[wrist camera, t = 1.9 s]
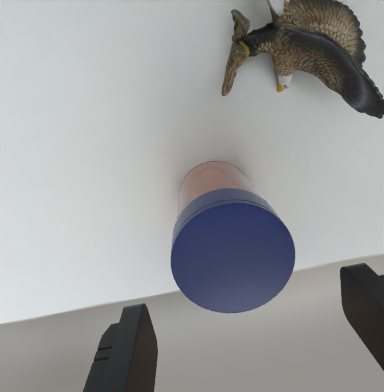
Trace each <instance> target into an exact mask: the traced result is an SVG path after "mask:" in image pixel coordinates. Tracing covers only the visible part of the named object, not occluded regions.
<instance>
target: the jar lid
mask: <svg viewBox="0 0 384 392" xmlns="http://www.w3.org/2000/svg"><path fill="white" fill-rule="evenodd" d="M294 262H295V248H294V242H293V240H292V237H291V234H290V232H289V231H288V229H287V227H286V226H285V225H284V223H283V222H282V221H281V219H280V218H279V217H278V215H277V214H276V213H275V211H274V210H273V209H272V207H271V206H270V205H269V204H268V203H267V202H266V201H265V200H263V199H262V198H261V197H259V196H258V195H256V194H254V193H251V192H249V191H246V190H242V189H236V188H223V189H217V190H213V191H209V192H207V193H205V194H202V195H201V196H199V197H197V198H196V199H194V200H193V201H192V202H190V203H189V204H188V205H187V206H186V207H185V209H184V210H183V211H182V212H181V214H180V216H179V217H178V219H177V221H176V224H175V227H174V231H173V239H172V250H171V269H172V274H173V277H174V280H175V281H176V283H177V285H178V287H179V288H180V290H181V291H182V292H183V293H184V294H185V296H186V297H187V298H189V299H190V300H191V301H192V302H194V303H196V304H197V305H199V306H201V307H203V308H205V309H208V310H211V311H215V312H220V313H239V312H245V311H249V310H252V309H255V308H258V307H259V306H262V305H264V304H265V303H267V302H268V301H270V300H271V299H272V298H274V297H275V296H276V295H277V294H278V293H279V292H280V291H281V290H282V289H283V288H284V286H285V285H286V284H287V282H288V280H289V278H290V276H291V274H292V271H293V267H294Z"/></svg>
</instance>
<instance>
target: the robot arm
mask: <svg viewBox="0 0 384 392" xmlns="http://www.w3.org/2000/svg"><path fill="white" fill-rule="evenodd" d="M340 279H341V296H342V307H343V310H344V313H345V316H346V318H347V320H348V321H349V323H350V324H351V326H352V327H353V329H354V330H355V331H356V333H357V334H358V336H359V337H360V338H361V340H362V341H363V342H364V344H365V345H366V347H367V348H368V350H369V351H370V352H371V354H372V355H373V356H374V358H375V359H376V361H377V362H378V363H379V365H380V366H381V368H382V369H383V370H384V275H380V276H378V275H377V274H376V273H375V272H374V271H373V270H372V269H371V268H370V267H369V266H368V265H366V264H365V263H361V264H356V265H351V266H345V267H342V268H341V269H340ZM157 348H158V347H157V340H156V335H155V332H154V329H153V325H152V322H151V319H150V315H149V312H148V309H147V306H146V305H145V303H143V304H138V305H132V306H127V307H124V309H123V312H122V315H121V318H120V322H119V323H115V324H111V325H110V327H109V328H108V329H107V330H106V332H105V333H104V334H103V335H102V337H101V340H100V343H99V346H98V351H97V352H96V355H95V358H94V362H93V364H92V366H91V370H90V373H89V375H88V378H87V381H86V384H85V387H84V390H83V392H154V385H155V375H156V366H157V356H158V349H157Z"/></svg>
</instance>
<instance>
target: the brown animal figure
mask: <svg viewBox="0 0 384 392" xmlns="http://www.w3.org/2000/svg"><path fill="white" fill-rule="evenodd" d="M266 1H267V3H268V5H269V7H270V11H271V15H272V22H271V23H268V24H267V25H266V26H265V27H263V28H260V29H257V30H253V31H252V32H251V33H247V31H248V29H249V26H250V21H249V20H248V19H246V18H245V17H244V16H243V15H242V14H241V13H240V12H239V11H238V10H235V9H234V10H232V11H231V13H232V17H233V21H234V22H235V25H234V31H235V33H234V35H233V37H232V41H233V44H232V47H231V52H230V55H229V58H228V62H227V66H226V72H225V78H224V83H223V86H222V96H225V95H227V94H228V93H229V91H230V90H231V88H232V85H233V81H234V78H235V76H236V70H237V68H238V67H239V66H240V65H241V64H242V63H243V62H244V61H245V60H246V59H247V57H251V56H256V55H257V54H259V53H261V52H263V53H270V54H272V55H273V65H274V69H275V71H276V74H277V77H278V82H279V86H278V89H277V91H279V92H280V91H282V90H284V89H285V88H288V87H289V85H290V83H291V81H292V77H293V71H294V70H303V71H305V72H309V73H311V74H313V75H315V76H316V77H318V78H319V79H320V80H321V81H322V82H323V83H324V84H325V85H326V86H327V87H328V88H330V89H331V90H333V91H335V92H337V93H338V94H340V95H341V96H342V98H343V99H344V100H345V101H346V102H347V103H348V104H349V105H350V106H351V107H352V108H354V109H355V110H356V111H358V112H360V113H366V114H368V115H370V116H374V117H377V118H379V119H381V118H383V115H384V99H383V96H382V94H381V93H380V92H379V89H378V88H377V87H376V86H375V83H374V82H373V81H372V80H371V79H370V78H369V76H368V75H367V73H366V72H365V71H364V70H363V69H362V63H363V62H364V61H365V59H366V56H365V54H364V50H365V48H366V45H365V42H364V41H363V40H362V39H361V36H362V34H363V32H362V30H361V29H360V28H359V26H360V22H359V21H358V20H357V17H356V16H355V15H354V14H353V11H352V10H350V9H349V7H348V6H347V5H343V4H342V3H341V2H339V1H336V0H334V1H333V0H290V2H289V3H288V2H287V1H286V0H266ZM246 33H247V36H246Z"/></svg>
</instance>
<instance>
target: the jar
mask: <svg viewBox="0 0 384 392" xmlns="http://www.w3.org/2000/svg"><path fill="white" fill-rule="evenodd" d="M223 188H236V189H242V190H246V191H249V192H251V193H254V194H256V195H258V193H257V192H256V191H255V189H254V188H253V186H252V185H251V184H250V182H249V181H248V179H247V178H246V177H245V175H244V174H243V173H242V172H241V171H240V170H239V169H238V168H236V167H235V166H233V165H231V164H229V163H225V162H220V161H212V162H207V163H203V164H201V165H199V166H197V167H195V168H194V169H192V170H191V171H190V172H189V173H188V174H187V175H186V177H185V178H184V180H183V182H182V184H181V186H180V190H179V201H178V214H177V219H178V217H179V216H180V214H181V212H182V211H183V210H184V209H185V207H186V206H187V205H188V204H189V203H190V202H192V201H193V200H194V199H196V198H197V197H199V196H201V195H202V194H205V193H207V192H209V191H213V190H217V189H223ZM258 196H259V195H258ZM259 197H260V196H259Z"/></svg>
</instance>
